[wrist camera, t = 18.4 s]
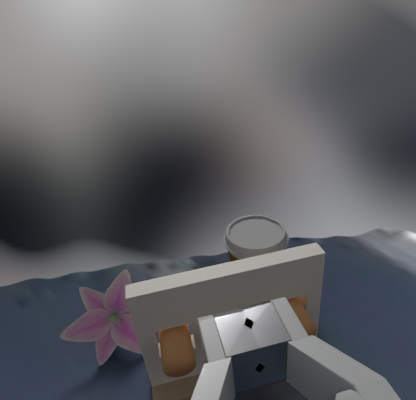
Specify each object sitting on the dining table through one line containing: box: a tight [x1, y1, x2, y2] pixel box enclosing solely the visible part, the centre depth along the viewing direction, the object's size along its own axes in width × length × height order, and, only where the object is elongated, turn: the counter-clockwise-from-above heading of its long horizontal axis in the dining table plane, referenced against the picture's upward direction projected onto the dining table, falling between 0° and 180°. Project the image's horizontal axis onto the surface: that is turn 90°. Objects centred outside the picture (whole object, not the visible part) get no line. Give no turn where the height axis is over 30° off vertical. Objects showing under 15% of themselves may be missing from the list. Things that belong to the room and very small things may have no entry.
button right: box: [287, 297, 317, 336], centre depth 41 cm, size 4×6×4 cm, turn 13°
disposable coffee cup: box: [223, 215, 289, 262], centre depth 52 cm, size 10×10×12 cm
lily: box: [60, 269, 142, 365], centre depth 48 cm, size 12×12×10 cm
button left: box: [158, 324, 196, 377], centre depth 39 cm, size 4×6×4 cm, turn 13°
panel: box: [125, 243, 325, 400], centre depth 41 cm, size 22×7×16 cm, turn 103°
